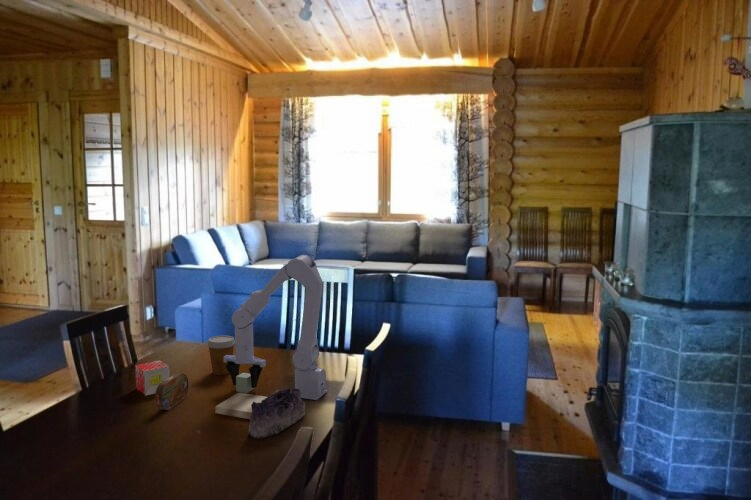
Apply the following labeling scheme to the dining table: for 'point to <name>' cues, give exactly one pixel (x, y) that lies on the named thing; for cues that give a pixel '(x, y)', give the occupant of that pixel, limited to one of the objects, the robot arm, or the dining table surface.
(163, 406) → the tin
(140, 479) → the dining table surface
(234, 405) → the slab
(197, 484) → the dining table surface
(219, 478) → the dining table surface
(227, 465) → the dining table surface
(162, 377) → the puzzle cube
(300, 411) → the geode
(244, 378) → the block
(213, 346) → the disposable coffee cup
